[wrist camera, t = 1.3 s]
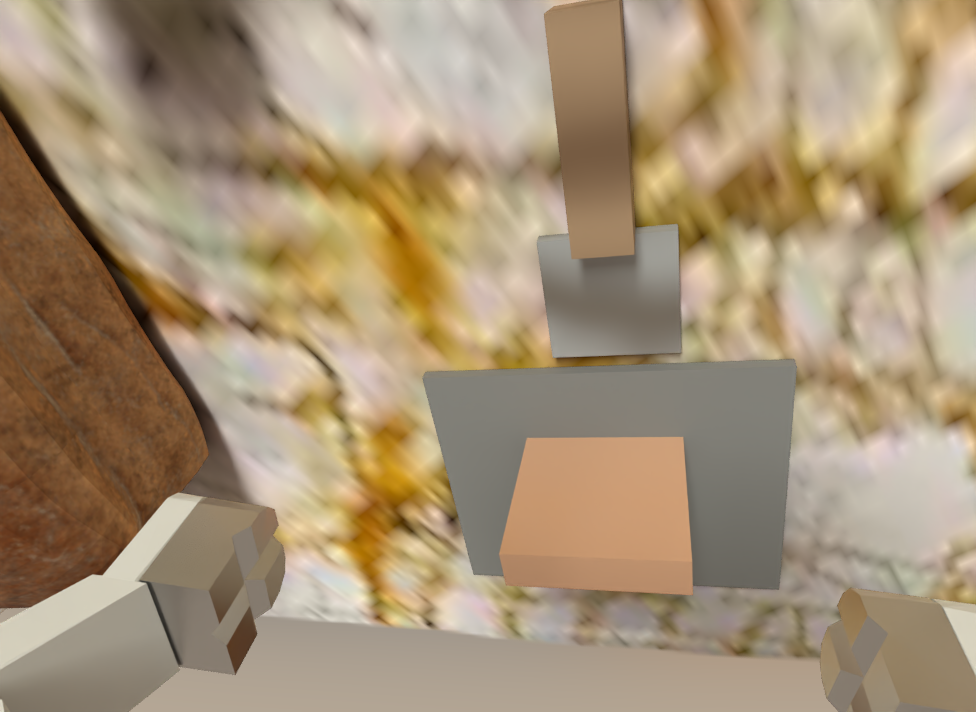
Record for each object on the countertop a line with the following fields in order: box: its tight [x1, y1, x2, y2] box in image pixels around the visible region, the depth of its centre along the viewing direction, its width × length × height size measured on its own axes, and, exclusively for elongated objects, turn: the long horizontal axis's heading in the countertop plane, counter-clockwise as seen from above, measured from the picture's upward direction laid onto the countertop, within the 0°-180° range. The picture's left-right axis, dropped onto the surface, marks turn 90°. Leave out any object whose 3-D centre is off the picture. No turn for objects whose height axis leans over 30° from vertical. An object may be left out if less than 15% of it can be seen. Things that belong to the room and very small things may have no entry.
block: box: [499, 437, 693, 595], centre depth 31 cm, size 8×2×8 cm, turn 100°
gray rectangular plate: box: [423, 359, 797, 589], centre depth 36 cm, size 18×15×1 cm
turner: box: [537, 0, 681, 358], centre depth 27 cm, size 15×6×3 cm, turn 10°
